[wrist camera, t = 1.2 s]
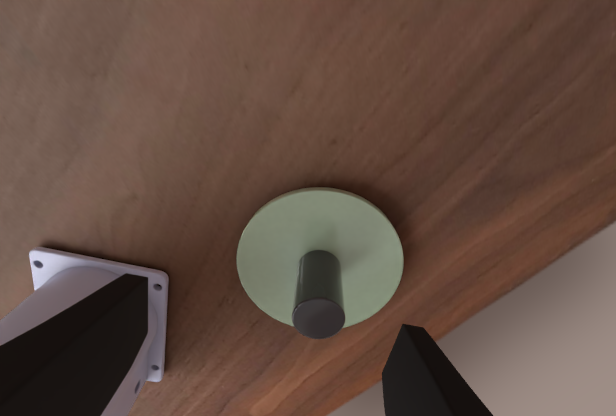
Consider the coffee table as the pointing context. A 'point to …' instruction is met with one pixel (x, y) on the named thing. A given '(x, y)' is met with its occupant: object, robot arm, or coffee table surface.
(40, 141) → the coffee table surface
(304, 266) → the cover
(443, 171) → the coffee table surface
